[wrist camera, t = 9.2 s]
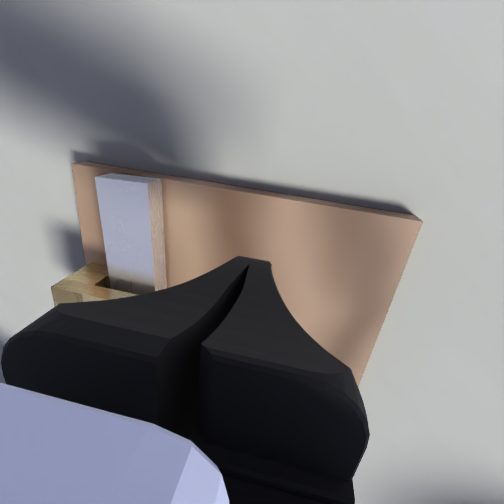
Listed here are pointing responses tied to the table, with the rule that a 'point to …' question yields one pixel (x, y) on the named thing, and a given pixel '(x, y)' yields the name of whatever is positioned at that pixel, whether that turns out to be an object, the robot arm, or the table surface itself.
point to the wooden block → (86, 286)
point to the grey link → (133, 231)
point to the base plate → (277, 250)
